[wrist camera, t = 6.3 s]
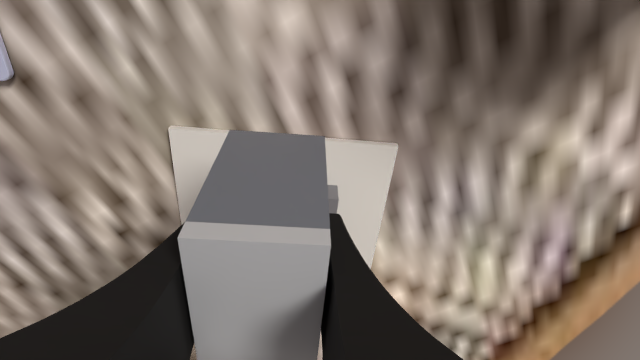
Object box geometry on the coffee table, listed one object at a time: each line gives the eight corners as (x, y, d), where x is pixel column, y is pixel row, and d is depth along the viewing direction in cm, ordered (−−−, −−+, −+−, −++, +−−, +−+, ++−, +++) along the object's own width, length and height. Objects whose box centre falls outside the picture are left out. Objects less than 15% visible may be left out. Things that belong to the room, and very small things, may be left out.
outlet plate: (192, 295, 28) (185, 316, 26) (170, 125, 21) (158, 140, 19) (361, 303, 29) (364, 324, 27) (397, 143, 21) (403, 158, 20)
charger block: (235, 235, 16) (198, 366, 11) (229, 130, 13) (177, 237, 8) (315, 239, 16) (315, 370, 11) (324, 136, 14) (331, 245, 8)
